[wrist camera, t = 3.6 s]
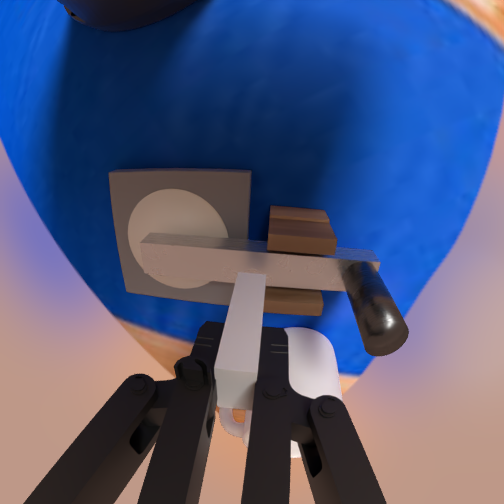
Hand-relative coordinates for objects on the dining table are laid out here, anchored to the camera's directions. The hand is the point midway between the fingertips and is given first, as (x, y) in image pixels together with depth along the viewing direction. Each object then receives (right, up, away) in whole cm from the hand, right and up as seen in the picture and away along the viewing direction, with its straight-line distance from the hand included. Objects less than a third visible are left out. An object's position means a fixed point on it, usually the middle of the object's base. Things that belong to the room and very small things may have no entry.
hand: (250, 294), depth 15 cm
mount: (+3, +3, +6) cm, 7 cm away
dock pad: (-6, +4, +7) cm, 9 cm away
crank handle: (+1, +2, +4) cm, 5 cm away
